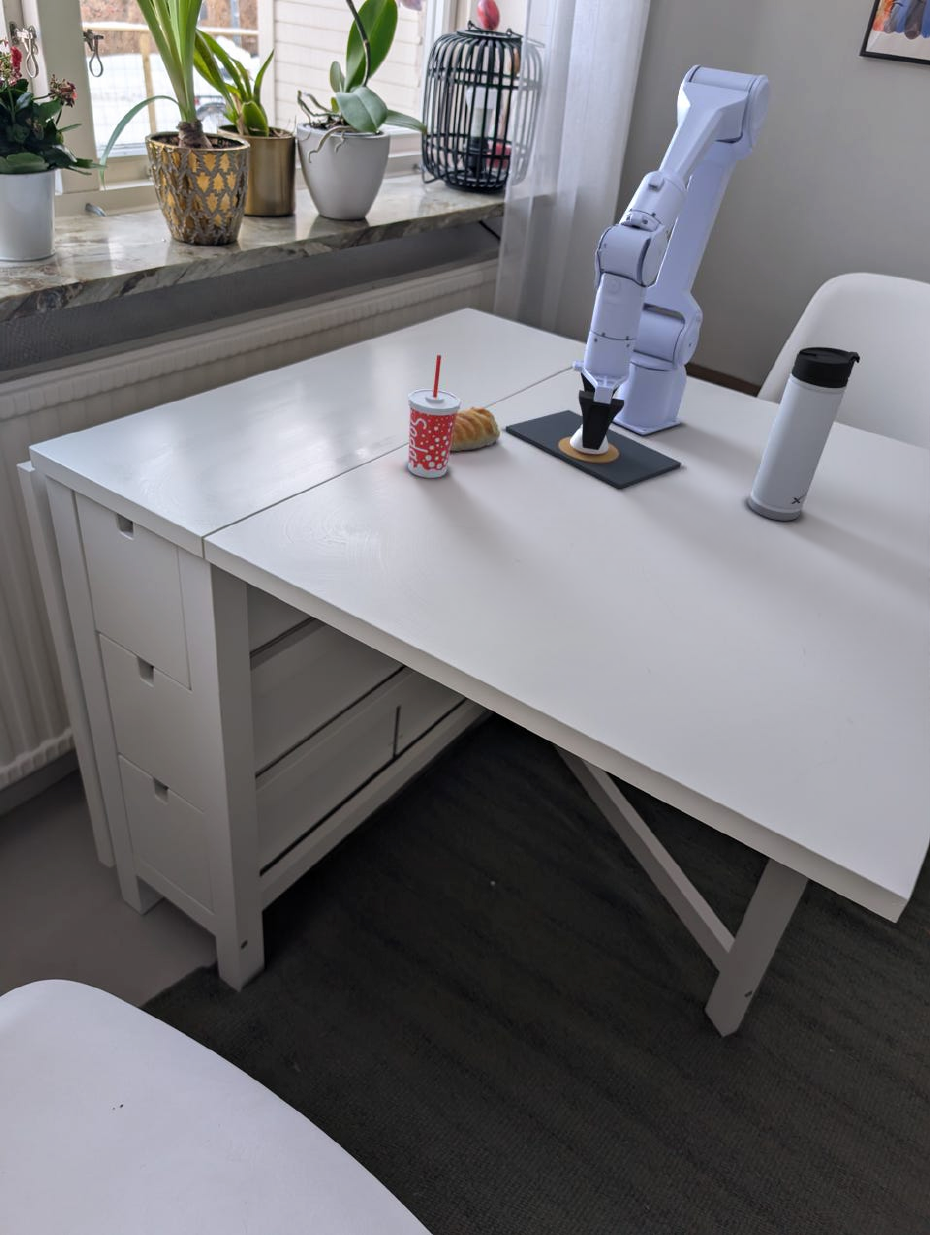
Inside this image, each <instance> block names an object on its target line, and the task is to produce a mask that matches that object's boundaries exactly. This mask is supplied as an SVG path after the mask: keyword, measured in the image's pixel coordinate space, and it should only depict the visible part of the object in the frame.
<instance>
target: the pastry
mask: <svg viewBox="0 0 930 1235" xmlns="http://www.w3.org/2000/svg"><path fill="white" fill-rule="evenodd" d="M500 435H501V431H500V429H499V425H498V423H497V422H496V417H495V415H494V414H493V412H491V411H490V410H489V409H487V408H485V407H475V406H471V407H470V408H469V409H468V408H467V409H465V410H463V409H462V410H460V411H459V410H458V412H457V415H456V421H455V426H454V432H453V437H452V443H451V448H450V451H452V452H455V451H456V452H461V451H470V450H475V449H476V450H477V449H480V448H485V446H488V447H489V446H492V445H493V444H494V443H495V442H497V441H498V439H499V437H500Z"/></svg>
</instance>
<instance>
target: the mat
mask: <svg viewBox="0 0 930 1235" xmlns="http://www.w3.org/2000/svg"><path fill="white" fill-rule="evenodd" d="M582 424H583V417H582V414H581V415H580V414H578V413H577V412H574V411H572V410H570V409H567V410H563V411H558V412H555V413H552V414H548V415H544V416H540V417H537V418H532V419H529V420H525V421H522V422H518V423H514V424H509V425H506V426H505V431H506V432H508V433H509V434H512V435H514V436H515V437H517V438H520V439H521V440H523V441H525V442H527V443H529V444H531V445H533V446H535V447H536V448H538V449H541V450H542V451H544V452H546V453H549V454H550V455H552V456H554V457H556V458H558V459H560V460H562V461H564V462H566V463H568V464H570V465H571V466H574V467H575V468H578V469H579V470H581V471H583V472H585V473H587V474H588V475H591V476H593V477H595V478H597V479H598V480H600V481H603V482H604V483H606V484H608V485H610V486H612V487H615V488H616V489H618V490H620V489H623V488H626V487H628V486H632V485H634V484H637V483H640V482H642V481H645V480H648V479H650V478H653V477H656V476H659V475H662V474H664V473H667V472H670V471H672V470H675V469H678V468H680V467H681V464H682V463H681V462H680V461H679V460H676V459H674V458H672V457H669V456H667V455H665V454H663V453H662V452H659V451H657V450H655V449H652V448H650V447H648V446H646V445H645V444H642V443H640V442H638V441H636V440H634V439H632V438H630V437H627V436H625V435H623V434H621V433H619V432H617V431H614V430H613V429H610V428H609V429H608V431H607V433H606V438H607V441H608V445H609V449H608V450H607V452H605V453H602V454H586V453H583V452H580V451H578V450H576V449H575V448H573V447H572V446H571V445H570V439H571V438H572V437H573V435H574V434H575V433H576V432H577V430H578V429H580V428H581V425H582Z"/></svg>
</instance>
